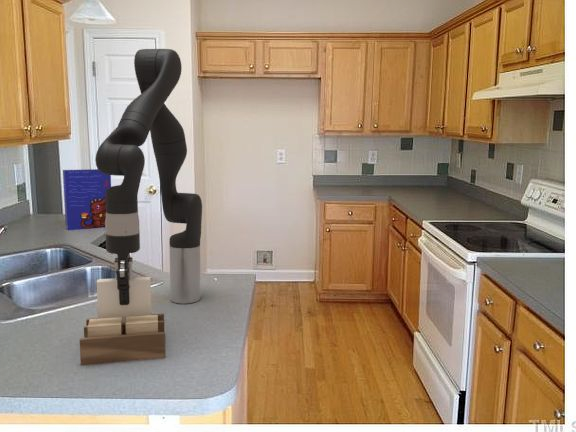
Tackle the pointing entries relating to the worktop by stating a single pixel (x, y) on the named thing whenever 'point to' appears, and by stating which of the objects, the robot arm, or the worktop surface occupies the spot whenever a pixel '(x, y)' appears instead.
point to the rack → (123, 346)
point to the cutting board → (137, 298)
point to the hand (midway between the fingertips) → (124, 302)
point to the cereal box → (85, 198)
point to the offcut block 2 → (142, 324)
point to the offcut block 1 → (105, 327)
